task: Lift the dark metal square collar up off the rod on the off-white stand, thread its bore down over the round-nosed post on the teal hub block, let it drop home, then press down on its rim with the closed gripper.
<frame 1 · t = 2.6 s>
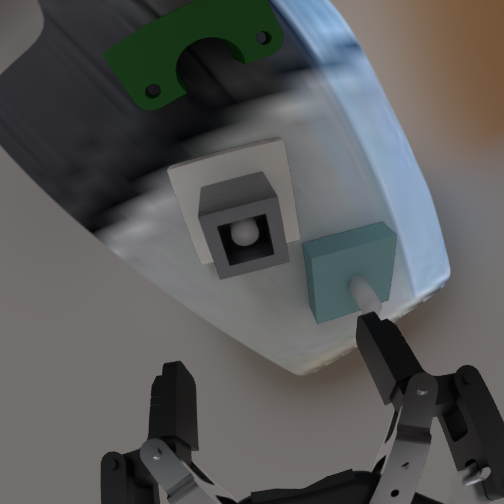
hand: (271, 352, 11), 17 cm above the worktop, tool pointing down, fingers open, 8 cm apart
rod stand: (237, 200, 26), on the worktop
metal collar: (238, 206, 24), point 1 cm above the worktop, touching rod stand
hub block: (346, 267, 32), on the worktop
clamp: (196, 48, 18), on the worktop
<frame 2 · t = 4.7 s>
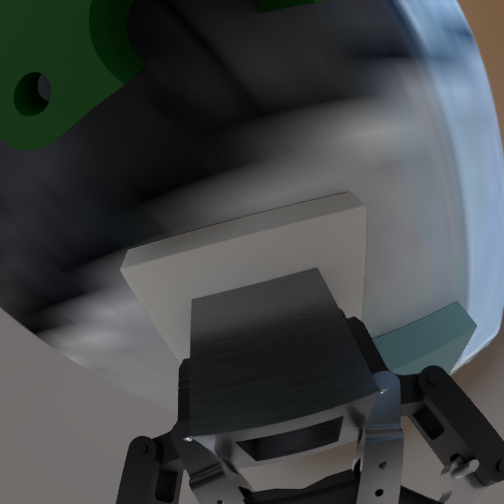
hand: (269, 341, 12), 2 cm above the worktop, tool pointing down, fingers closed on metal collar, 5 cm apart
rod stand: (260, 304, 14), on the worktop
metal collar: (265, 325, 13), point 1 cm above the worktop, touching gripper, rod stand
hub block: (400, 358, 20), on the worktop
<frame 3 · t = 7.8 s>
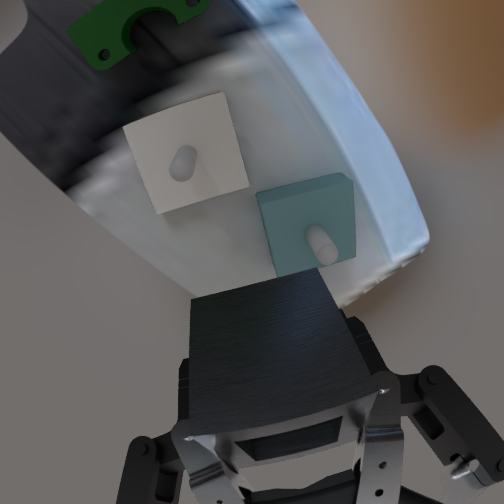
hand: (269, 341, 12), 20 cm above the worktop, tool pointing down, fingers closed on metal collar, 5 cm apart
rod stand: (187, 152, 26), on the worktop
metal collar: (265, 325, 13), point 19 cm above the worktop, touching gripper
hub block: (306, 220, 32), on the worktop
clamp: (147, 21, 18), on the worktop
when the fingers open (6 cm above the worktop, at t = 11.2 s): metal collar drops 2 cm, resting on hub block.
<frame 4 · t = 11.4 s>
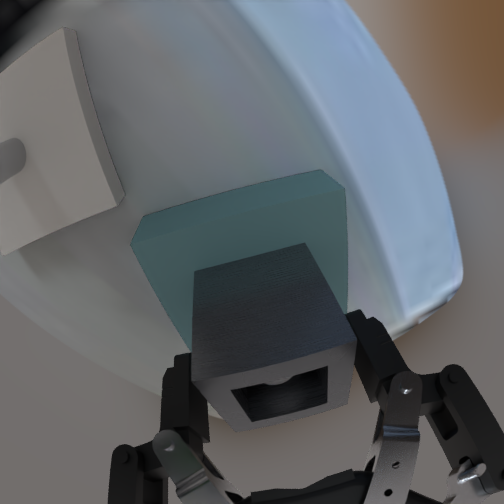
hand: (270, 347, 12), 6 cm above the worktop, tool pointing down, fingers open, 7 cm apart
rod stand: (28, 149, 11), on the worktop
metal collar: (260, 297, 14), point 3 cm above the worktop, touching hub block
hub block: (251, 265, 17), on the worktop
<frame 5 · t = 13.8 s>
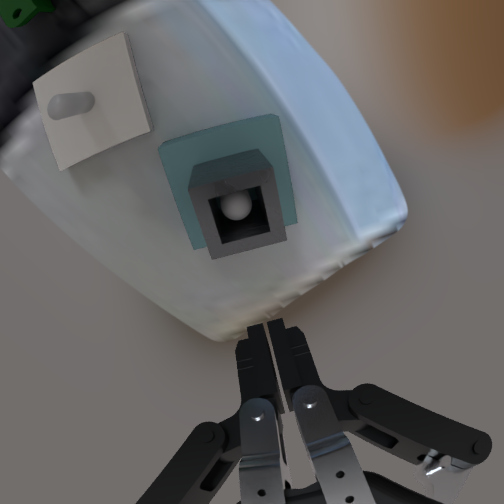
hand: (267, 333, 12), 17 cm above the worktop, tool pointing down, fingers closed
rod stand: (91, 101, 19), on the worktop
metal collar: (233, 186, 23), point 3 cm above the worktop, touching hub block
hub block: (230, 176, 25), on the worktop
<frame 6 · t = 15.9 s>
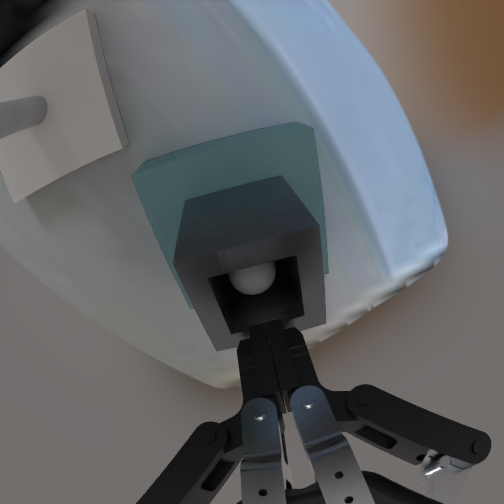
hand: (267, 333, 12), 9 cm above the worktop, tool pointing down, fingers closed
rod stand: (47, 108, 12), on the worktop
metal collar: (244, 229, 16), point 3 cm above the worktop, touching gripper, hub block
hub block: (237, 209, 19), on the worktop
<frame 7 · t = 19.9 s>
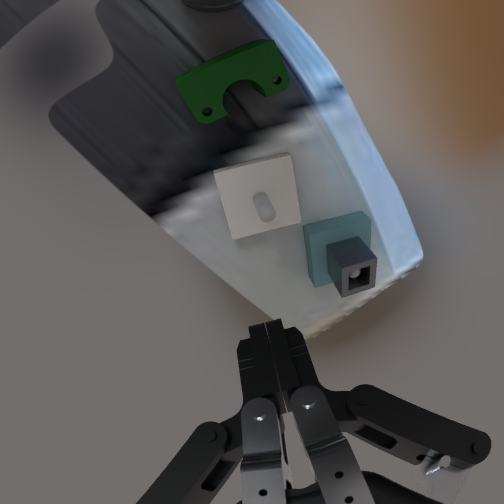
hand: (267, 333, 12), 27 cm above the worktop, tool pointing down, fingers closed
rod stand: (258, 195, 37), on the worktop
metal collar: (343, 254, 41), point 3 cm above the worktop, touching hub block
hub block: (335, 245, 44), on the worktop
clamp: (230, 80, 29), on the worktop
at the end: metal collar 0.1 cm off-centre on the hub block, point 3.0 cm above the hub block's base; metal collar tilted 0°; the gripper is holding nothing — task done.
